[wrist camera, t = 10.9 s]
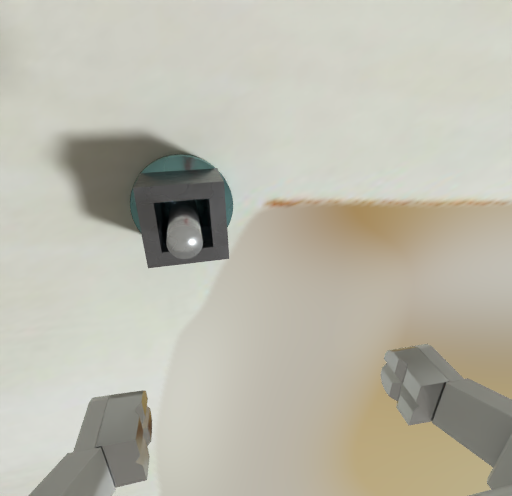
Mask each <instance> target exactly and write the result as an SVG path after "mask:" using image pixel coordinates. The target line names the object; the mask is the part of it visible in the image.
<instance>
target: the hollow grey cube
mask: <svg viewBox="0 0 512 496" xmlns="http://www.w3.org/2000/svg"><path fill="white" fill-rule="evenodd" d="M133 192H134V197H135V202H136V207H137V212H138V218H139V223H140V228H141V233H142V238H143V244H144V249H145V254H146V259H147V264H148V268H153V267H162V266H170V265H179V264H187V263H196V262H204V261H213V260H221V259H229V249H228V234H227V219H226V203H225V188H224V180H223V178H222V177H221V175H220V173H219V171H218V169H217V168H212V169H196V170H181V171H165V172H150V173H140V175H139V177H138V179H137V181H136V183H135V185H134V186H133ZM196 199H206V206H207V217H208V225H203V226H200V228H201V234H202V240H203V246H202V249H201V251H200V252H199V253H198V254H197V255H196V256H194V257H192V258H189V259H180V258H177V257H175V256H173V255H172V254H171V253H170V252H169V250H168V248H167V244H166V242H167V231H168V229H164V224H163V217H162V211H161V205H160V202H172V201H184V200H196Z"/></svg>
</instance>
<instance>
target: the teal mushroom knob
mask: <svg viewBox="0 0 512 496" xmlns="http://www.w3.org/2000/svg"><path fill="white" fill-rule="evenodd" d="M212 168H215V167H214V166H213V165H211V164H210V163H208V162H207V161H205V160H203V159H201V158H198V157H195V156H192V155H185V154H175V155H169V156H165V157H162V158H160V159H157V160H156V161H154V162H152V163H151V164H149V165H148V166H147V167H146V168H145V169H144V170H143V171H142V172H141V173H150V172H165V171H181V170H196V169H212ZM219 173H220V172H219ZM220 175H221V177H222V178H223V180H224V188H225V203H226V219H227V227H228V225H229V223H230V220H231V217H232V212H233V200H232V195H231V191H230V188H229V186H228V184H227V182H226V181H225V179H224V177H223V176H222V174H221V173H220ZM138 177H139V176H138ZM137 179H138V178H137ZM136 181H137V180H136ZM135 183H136V182H135ZM134 185H135V184H134ZM160 205H161V211H162V217H163V224H164V229H168V231H167V242H166V244H167V248H168V250H169V252H170V253H171V254H172V255H173V256H175V257H177V258H180V259H189V258H192V257H194V256H196V255H197V254H198V253H199V252H200V251H201V249H202V246H203V240H202V234H201V228H200V226H203V225H208V217H207V206H206V199H196V200H184V201H172V202H160ZM130 208H131V214H132V217H133V220H134V222H135V224H136V226H137V228H138V229H139V231H140V232H141V228H140V223H139V218H138V212H137V207H136V202H135V197H134V192H133V189H132V192H131V198H130Z"/></svg>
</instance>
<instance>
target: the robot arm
mask: <svg viewBox="0 0 512 496" xmlns="http://www.w3.org/2000/svg"><path fill="white" fill-rule="evenodd" d="M384 359H385V361H386V362H387V363H386V365H385V366H384V367H383V368H382V371H381V380H382V384H383V387H384V389H385V391H386V392H387V394H388V395H389V396H390V397H391V398H393V399H395V400H396V401H397V409H398V410H399V412H400V413H401V415H402V416H403V418H404V419H405V421H406V422H407V423H408V425H413V424H419V423H424V422H430V421H432V423H433V424H435V425H436V426H438V427H439V428H440V429H442V430H443V431H444V432H445V433H447V434H448V435H450V436H451V437H452V438H454V439H455V440H456V441H458V442H459V443H461V444H462V445H464V446H465V447H466V448H467V449H469V450H470V451H471V452H473V453H474V454H476V455H477V456H478V457H480V458H481V459H482V460H484V461H485V462H486V463H488V464H489V465H491V466H492V467H493V469H492V471H491V473H490V475H489V477H488V480H487V484H488V485H489V486H490V488H491V489H492V490H489V491H485V492H481V493H477V494H473V495H469V496H512V400H511V399H509V398H507V397H505V396H503V395H501V394H499V393H497V392H495V391H493V390H491V389H489V388H486V387H485V386H483V385H481V384H478V383H476V382H474V381H472V380H470V379H463V377H462V376H461V375H460V374H459V373H458V372H457V371H456V370H455V369H454V368H453V367H452V366H451V365H450V364H449V363H448V362H447V361H446V360H445V359H444V358H443V357H442V356H441V355H440V354H439V353H438V352H437V351H436V350H435V349H434V348H433V347H432V346H430V345H428V344H424V345H418V346H412V347H405V348H399V349H394V350H388V351H387V352H386V353H385V357H384ZM147 400H148V398H147V394H146V391H136V392H129V393H122V394H114V395H108V396H101V397H94V398H92V399H91V401H90V402H89V405H88V408H87V411H86V414H85V417H84V420H83V423H82V426H81V430H80V433H79V436H78V439H77V442H76V445H75V448H74V451H73V452H72V453H67V455H66V456H65V457H64V458H63V459H62V460H61V461H60V462H59V463H58V464H57V465H56V466H55V468H54V469H53V470H52V471H51V472H50V473H49V474H48V475H47V476H46V477H45V478H44V479H43V481H42V482H41V483H40V484H39V485H38V486H37V487H36V488H35V489H34V490H33V491H32V492H31V494H30V495H29V496H112V495H113V493H114V492H115V490H116V489H115V487H120V486H124V485H128V484H132V483H136V482H141V481H145V480H147V474H148V465H149V452H148V448H147V446H148V445H149V443H150V442H151V436H152V417H151V411H150V408H149V407H147Z"/></svg>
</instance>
